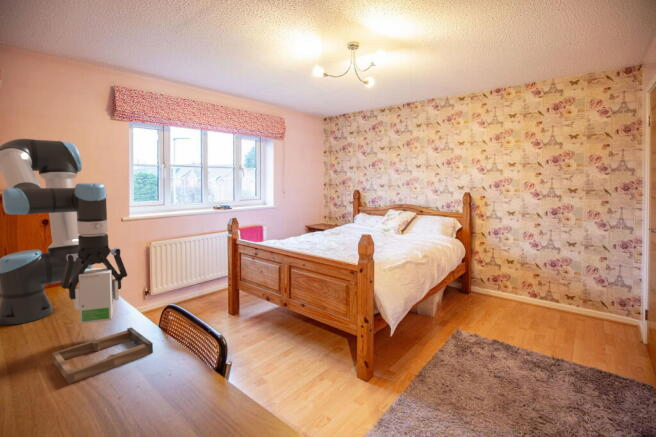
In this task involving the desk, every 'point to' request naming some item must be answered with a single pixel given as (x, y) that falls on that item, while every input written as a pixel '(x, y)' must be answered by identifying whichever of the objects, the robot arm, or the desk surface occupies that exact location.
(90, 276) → the skincare box
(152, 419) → the desk surface
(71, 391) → the desk surface
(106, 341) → the brown wooden shallow tray
